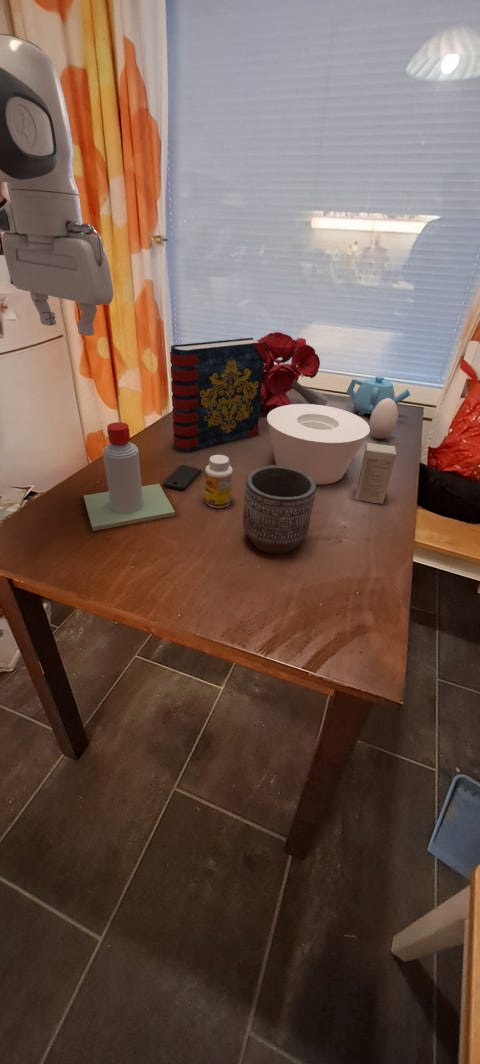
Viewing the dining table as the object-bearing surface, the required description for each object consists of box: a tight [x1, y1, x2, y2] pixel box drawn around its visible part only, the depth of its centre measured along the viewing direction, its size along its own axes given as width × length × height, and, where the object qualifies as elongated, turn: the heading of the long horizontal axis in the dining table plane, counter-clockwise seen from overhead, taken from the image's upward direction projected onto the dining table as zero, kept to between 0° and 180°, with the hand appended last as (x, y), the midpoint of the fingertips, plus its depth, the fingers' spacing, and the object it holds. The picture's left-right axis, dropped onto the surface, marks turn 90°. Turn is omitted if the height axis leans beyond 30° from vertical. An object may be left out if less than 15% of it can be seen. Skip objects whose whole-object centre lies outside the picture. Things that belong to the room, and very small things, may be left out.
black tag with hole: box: [163, 464, 202, 491], centre depth 96 cm, size 5×1×10 cm
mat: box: [83, 483, 176, 532], centre depth 85 cm, size 16×12×1 cm
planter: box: [242, 464, 317, 555], centre depth 76 cm, size 12×12×13 cm
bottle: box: [102, 441, 143, 514], centre depth 80 cm, size 6×6×16 cm
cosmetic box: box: [354, 442, 397, 505], centre depth 91 cm, size 6×4×12 cm
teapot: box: [346, 375, 411, 416], centre depth 137 cm, size 20×17×12 cm
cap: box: [106, 421, 131, 445], centre depth 76 cm, size 4×4×3 cm
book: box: [169, 337, 266, 453], centre depth 108 cm, size 25×7×25 cm, turn 126°
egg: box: [368, 398, 399, 440], centre depth 120 cm, size 7×7×12 cm
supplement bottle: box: [204, 454, 234, 509], centre depth 86 cm, size 6×6×10 cm
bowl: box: [266, 403, 371, 485], centre depth 102 cm, size 24×24×12 cm
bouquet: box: [256, 331, 329, 412], centre depth 133 cm, size 22×24×30 cm
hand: (67, 329), depth 66 cm, fingers open, 8 cm apart
